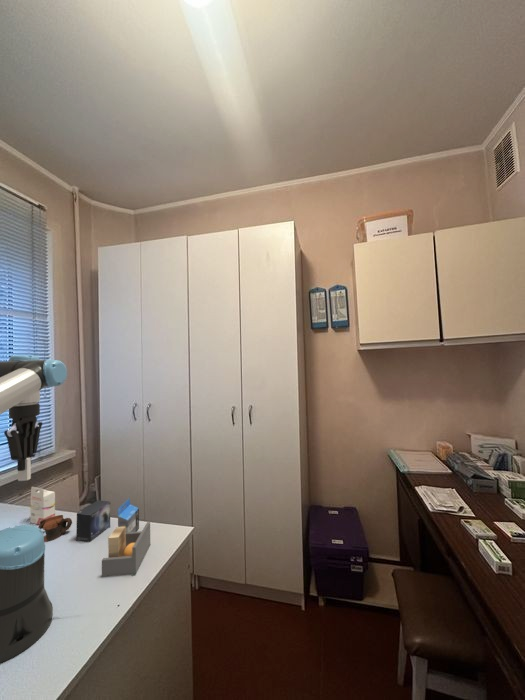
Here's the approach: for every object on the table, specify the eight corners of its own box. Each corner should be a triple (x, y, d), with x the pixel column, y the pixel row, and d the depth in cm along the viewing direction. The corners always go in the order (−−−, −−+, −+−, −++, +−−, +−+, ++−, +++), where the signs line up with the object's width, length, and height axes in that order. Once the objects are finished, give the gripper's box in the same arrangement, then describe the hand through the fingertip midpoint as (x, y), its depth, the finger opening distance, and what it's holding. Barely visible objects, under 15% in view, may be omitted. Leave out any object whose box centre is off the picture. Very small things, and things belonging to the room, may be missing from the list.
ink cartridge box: (56, 519, 120) (56, 484, 121) (43, 526, 116) (43, 489, 116) (42, 516, 123) (42, 482, 124) (29, 522, 119) (29, 486, 119)
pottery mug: (30, 548, 102) (31, 523, 106) (46, 545, 110) (46, 522, 114) (66, 534, 105) (66, 510, 108) (80, 532, 113) (78, 510, 117)
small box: (90, 544, 103) (90, 514, 103) (75, 542, 104) (75, 513, 104) (111, 527, 113) (111, 500, 114) (97, 526, 114) (97, 499, 115)
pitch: (135, 577, 86) (135, 548, 86) (51, 584, 84) (51, 555, 85) (150, 545, 101) (150, 521, 101) (80, 551, 99) (80, 526, 99)
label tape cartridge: (127, 544, 102) (127, 509, 103) (117, 544, 102) (117, 509, 103) (139, 529, 111) (139, 497, 112) (129, 529, 111) (129, 497, 112)
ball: (130, 545, 91) (117, 556, 91) (140, 557, 91) (127, 568, 91) (136, 536, 96) (124, 546, 96) (145, 547, 96) (133, 557, 96)
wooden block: (118, 566, 90) (118, 537, 90) (108, 567, 90) (108, 538, 90) (125, 553, 96) (125, 526, 96) (116, 554, 96) (116, 527, 96)
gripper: (27, 401, 96) (27, 472, 95) (-6, 407, 83) (-7, 489, 82) (50, 400, 97) (50, 471, 96) (21, 406, 84) (21, 488, 83)
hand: (24, 479), depth 89 cm, fingers closed
